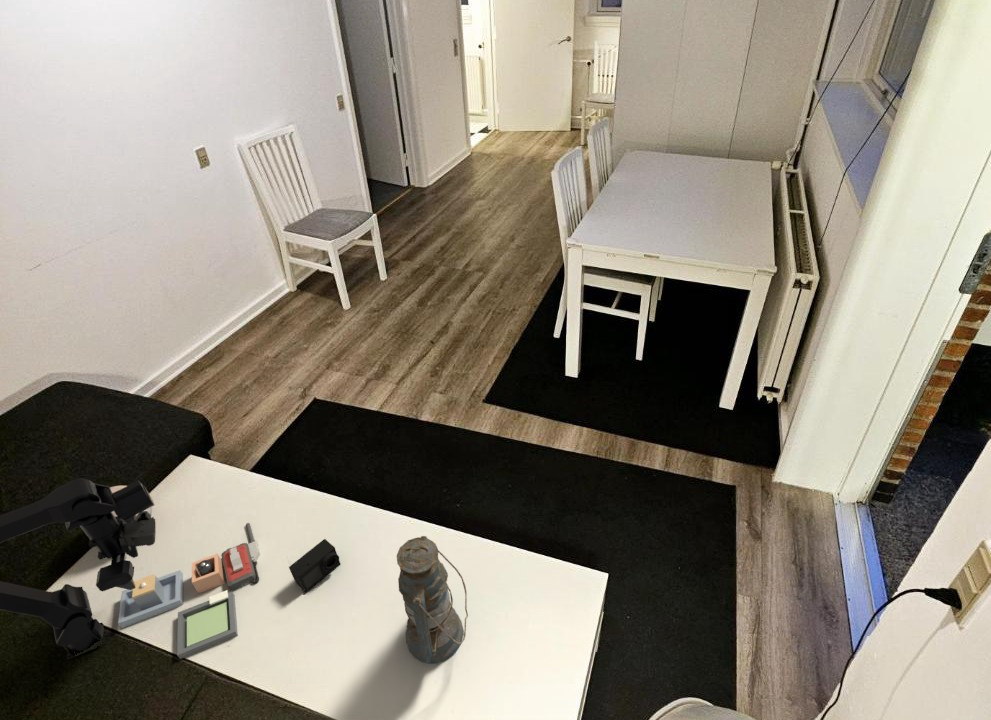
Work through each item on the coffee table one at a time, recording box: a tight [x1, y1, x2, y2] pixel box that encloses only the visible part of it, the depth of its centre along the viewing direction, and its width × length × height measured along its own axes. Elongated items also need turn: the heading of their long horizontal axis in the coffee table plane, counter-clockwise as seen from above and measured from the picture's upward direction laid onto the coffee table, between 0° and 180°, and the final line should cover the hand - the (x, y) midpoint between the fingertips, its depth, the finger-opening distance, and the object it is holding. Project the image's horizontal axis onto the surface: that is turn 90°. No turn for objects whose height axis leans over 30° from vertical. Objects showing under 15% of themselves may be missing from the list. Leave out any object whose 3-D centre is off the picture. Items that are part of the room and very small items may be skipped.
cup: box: [191, 553, 226, 594], centre depth 138 cm, size 6×6×5 cm
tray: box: [117, 569, 184, 629], centre depth 135 cm, size 13×9×2 cm
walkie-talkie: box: [221, 522, 261, 592], centre depth 144 cm, size 9×4×20 cm
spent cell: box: [197, 560, 215, 576], centre depth 138 cm, size 3×3×6 cm
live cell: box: [132, 573, 164, 611], centre depth 134 cm, size 4×4×6 cm
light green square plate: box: [186, 602, 230, 647], centre depth 129 cm, size 9×8×1 cm
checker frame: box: [176, 589, 239, 660], centre depth 129 cm, size 12×12×3 cm
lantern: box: [396, 535, 469, 664], centre depth 117 cm, size 19×14×30 cm
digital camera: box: [288, 538, 341, 594], centre depth 137 cm, size 10×5×7 cm, turn 139°
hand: (134, 572), depth 129 cm, fingers open, 9 cm apart
